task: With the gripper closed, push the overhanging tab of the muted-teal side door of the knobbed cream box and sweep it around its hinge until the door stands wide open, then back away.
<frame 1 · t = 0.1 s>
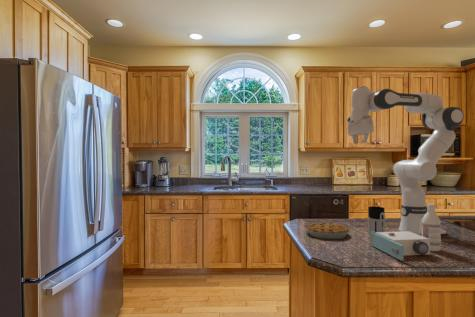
hand: (360, 143, 159), 48 cm above the countertop, fingers open, 8 cm apart
glass holder: (378, 238, 149), on the countertop
knobbed cream box: (401, 250, 130), on the countertop
bath foam: (431, 249, 132), on the countertop
side door: (385, 245, 126), point 3 cm above the countertop, hinge at 0.0°
pie: (327, 235, 158), on the countertop
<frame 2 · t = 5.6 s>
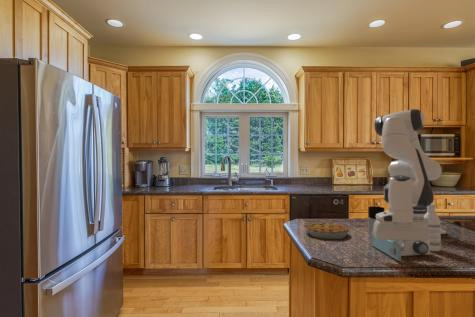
hand: (400, 250, 120), 3 cm above the countertop, fingers closed
side door: (384, 245, 126), point 3 cm above the countertop, hinge at 3.1°, touching gripper
everything else where it was.
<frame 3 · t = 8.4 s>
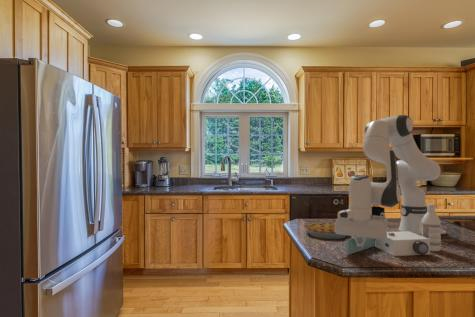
hand: (360, 247, 125), 3 cm above the countertop, fingers closed
side door: (360, 242, 130), point 3 cm above the countertop, hinge at 60.5°, touching gripper
everything else where it was.
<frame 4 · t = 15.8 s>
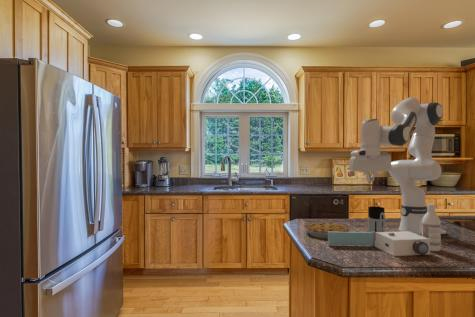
hand: (370, 180, 145), 29 cm above the countertop, fingers closed
side door: (351, 238, 137), point 3 cm above the countertop, hinge at 101.3°
everything else where it was.
at the end: side door at +101° (first picture: +0°) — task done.
